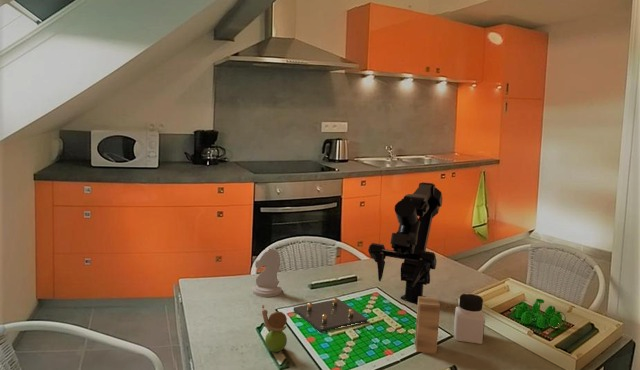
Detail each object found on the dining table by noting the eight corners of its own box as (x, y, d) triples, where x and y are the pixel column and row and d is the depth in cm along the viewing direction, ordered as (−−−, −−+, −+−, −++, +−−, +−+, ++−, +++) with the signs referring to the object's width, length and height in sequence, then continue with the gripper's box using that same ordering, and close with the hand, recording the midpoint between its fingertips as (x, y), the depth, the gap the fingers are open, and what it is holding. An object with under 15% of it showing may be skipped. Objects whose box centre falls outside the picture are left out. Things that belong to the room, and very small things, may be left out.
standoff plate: (338, 301, 154) (338, 293, 153) (367, 322, 140) (367, 312, 140) (293, 310, 146) (293, 301, 146) (319, 332, 132) (320, 322, 132)
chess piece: (256, 285, 166) (256, 242, 163) (284, 287, 165) (285, 244, 162) (249, 295, 156) (249, 251, 154) (278, 298, 155) (280, 253, 153)
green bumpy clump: (569, 337, 137) (572, 314, 136) (513, 328, 141) (515, 305, 140) (560, 316, 151) (562, 295, 150) (509, 308, 155) (511, 288, 154)
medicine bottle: (482, 344, 130) (487, 302, 128) (455, 341, 131) (459, 299, 129) (479, 332, 136) (483, 292, 135) (453, 329, 138) (457, 289, 136)
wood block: (414, 342, 129) (418, 296, 127) (433, 344, 129) (437, 297, 127) (416, 351, 124) (420, 303, 122) (436, 353, 124) (440, 305, 122)
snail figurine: (261, 345, 124) (262, 301, 122) (286, 345, 125) (287, 301, 123) (260, 356, 119) (261, 310, 117) (286, 355, 119) (288, 310, 117)
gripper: (371, 216, 137) (357, 265, 130) (437, 224, 130) (426, 278, 123) (378, 234, 146) (365, 282, 139) (440, 243, 139) (430, 294, 132)
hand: (395, 283), depth 133 cm, fingers open, 9 cm apart
